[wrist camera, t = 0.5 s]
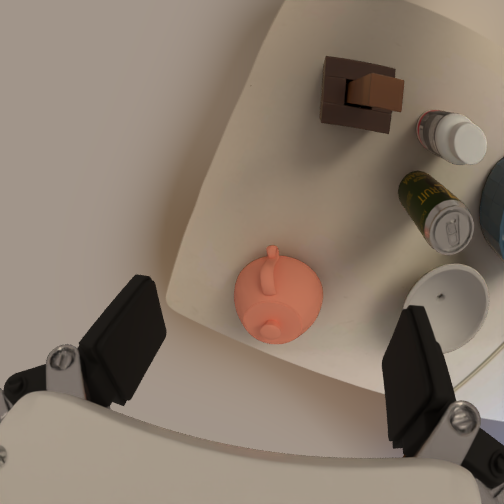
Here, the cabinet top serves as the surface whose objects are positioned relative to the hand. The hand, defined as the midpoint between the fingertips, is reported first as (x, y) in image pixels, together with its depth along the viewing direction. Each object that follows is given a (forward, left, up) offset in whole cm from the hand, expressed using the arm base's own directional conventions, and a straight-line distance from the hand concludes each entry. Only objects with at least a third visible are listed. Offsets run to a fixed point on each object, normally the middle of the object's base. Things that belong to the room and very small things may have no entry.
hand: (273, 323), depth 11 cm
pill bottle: (-7, +16, -28) cm, 32 cm away
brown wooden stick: (-9, +5, -28) cm, 29 cm away
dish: (+16, +24, -28) cm, 40 cm away
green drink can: (+1, +15, -28) cm, 31 cm away
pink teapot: (+17, -1, -28) cm, 33 cm away
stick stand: (-9, +5, -28) cm, 29 cm away
